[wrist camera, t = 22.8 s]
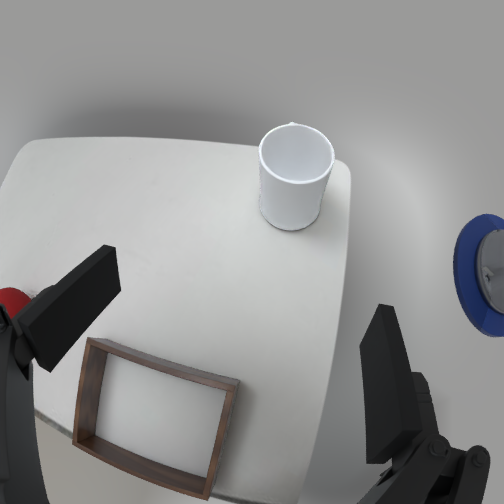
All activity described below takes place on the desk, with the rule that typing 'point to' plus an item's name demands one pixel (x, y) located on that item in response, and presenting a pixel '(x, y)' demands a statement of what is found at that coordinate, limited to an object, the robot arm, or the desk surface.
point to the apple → (13, 300)
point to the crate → (128, 460)
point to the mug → (293, 174)
